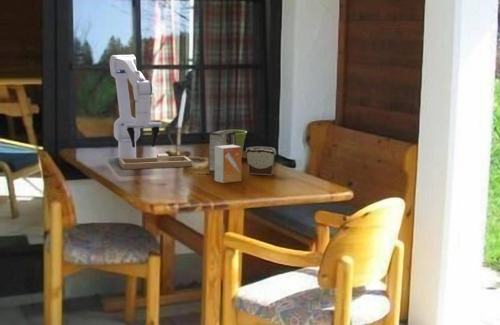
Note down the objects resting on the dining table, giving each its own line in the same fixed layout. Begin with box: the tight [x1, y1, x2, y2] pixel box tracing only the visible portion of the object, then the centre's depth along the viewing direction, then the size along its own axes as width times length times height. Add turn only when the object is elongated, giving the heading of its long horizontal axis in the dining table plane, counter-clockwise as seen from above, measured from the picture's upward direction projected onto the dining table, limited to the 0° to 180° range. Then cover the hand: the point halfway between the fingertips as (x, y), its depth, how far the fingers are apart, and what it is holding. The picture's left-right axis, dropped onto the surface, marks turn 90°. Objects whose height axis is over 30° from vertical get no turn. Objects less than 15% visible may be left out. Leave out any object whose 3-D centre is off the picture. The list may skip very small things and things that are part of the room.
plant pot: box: [226, 129, 248, 158], centre depth 382 cm, size 12×12×11 cm
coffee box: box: [208, 129, 236, 175], centre depth 347 cm, size 9×6×16 cm
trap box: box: [118, 155, 193, 170], centre depth 357 cm, size 12×27×4 cm, turn 106°
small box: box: [214, 145, 243, 184], centre depth 332 cm, size 8×6×13 cm
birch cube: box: [156, 153, 170, 162], centre depth 357 cm, size 4×4×4 cm
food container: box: [244, 146, 277, 176], centre depth 348 cm, size 12×6×10 cm, turn 71°
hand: (143, 146), depth 352 cm, fingers open, 7 cm apart
